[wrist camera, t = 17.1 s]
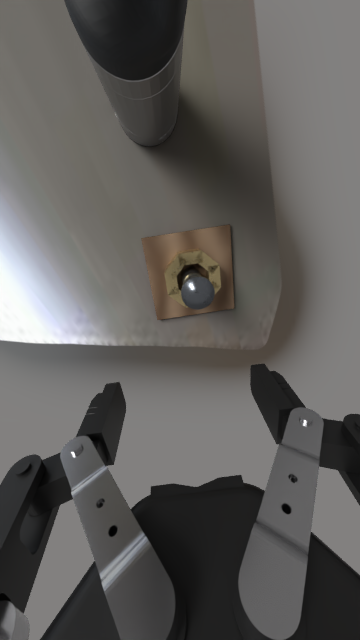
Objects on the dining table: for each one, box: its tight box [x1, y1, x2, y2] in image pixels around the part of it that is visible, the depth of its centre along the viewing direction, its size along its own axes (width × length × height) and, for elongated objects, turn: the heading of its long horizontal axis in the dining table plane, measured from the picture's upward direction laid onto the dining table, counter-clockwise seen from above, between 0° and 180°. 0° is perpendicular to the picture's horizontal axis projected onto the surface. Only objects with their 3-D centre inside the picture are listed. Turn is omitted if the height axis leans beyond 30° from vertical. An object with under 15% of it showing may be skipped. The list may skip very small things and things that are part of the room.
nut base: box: [141, 225, 234, 320], centre depth 42 cm, size 16×16×5 cm
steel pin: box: [181, 267, 215, 310], centre depth 37 cm, size 5×5×12 cm
